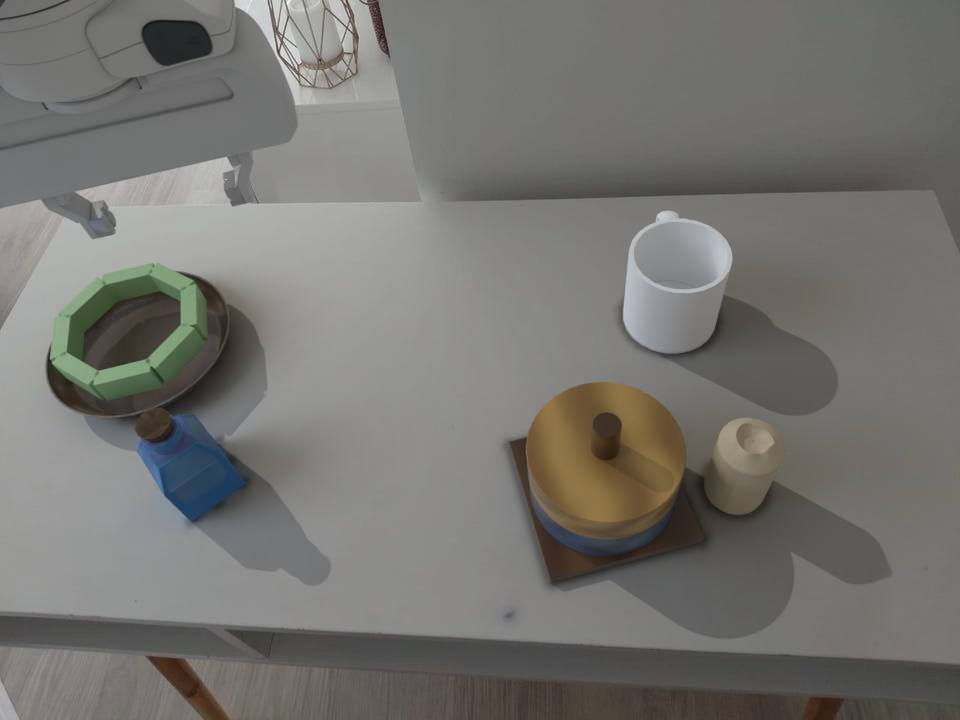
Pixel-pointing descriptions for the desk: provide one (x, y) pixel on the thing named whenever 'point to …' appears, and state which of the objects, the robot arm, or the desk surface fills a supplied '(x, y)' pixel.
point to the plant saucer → (141, 351)
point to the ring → (99, 301)
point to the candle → (743, 465)
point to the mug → (675, 283)
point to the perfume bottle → (185, 461)
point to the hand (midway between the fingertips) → (174, 214)
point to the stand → (604, 479)
